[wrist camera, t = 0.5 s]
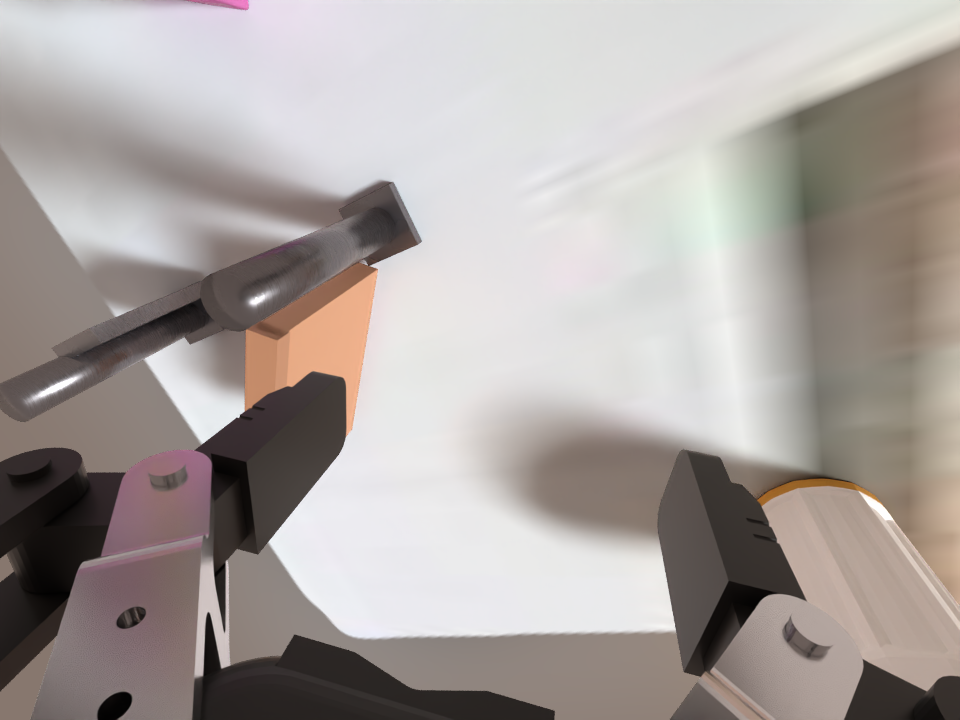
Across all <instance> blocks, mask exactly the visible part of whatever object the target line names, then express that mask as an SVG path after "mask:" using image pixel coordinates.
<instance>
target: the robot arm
mask: <svg viewBox="0 0 960 720" xmlns="http://www.w3.org/2000/svg"><path fill="white" fill-rule="evenodd" d="M346 430H347V424H346V382H345V380H344V378H343V377H339V376H335V375H330V374H325V373H320V372H315V371H312V372H310V373H309V374H307V375H306V376H305V377H304V378H303V379H301V380H300V381H299V382H298V383H296V384H295V385H294V386H293V387H290V386H287V387H284V388H282V389H279V390H277V391H274V392H272V393H269V394H267V395H266V396H264V397H263V398H262V399H260V400H259V401H258V402H257V403H255V404H254V405H253V406H252V408H249V409H247V410H246V411H245V412H244V413H242V414H241V415H240V417H239V418H236V419H235V420H233V421H232V422H231V423H229V424H228V425H227V426H225V427H224V428H223V429H222V430H220V431H219V432H218V433H216V434H215V435H214V436H213V437H211V438H210V439H209V440H207V441H206V442H205V443H203V444H202V445H201V446H200V447H198V448H197V449H196V450H194V451H193V450H173V451H168V452H163V453H159V454H156V455H153V456H150V457H148V458H146V459H144V460H142V461H140V462H138V463H137V464H135V465H134V466H133V467H131V468H130V469H129V470H128V471H127V472H126V473H86V469H85V466H84V463H83V460H82V457H81V455H80V454H79V453H78V452H76V451H74V450H71V449H66V448H45V449H38V450H33V451H29V452H25V453H22V454H19V455H16V456H13V457H11V458H8V459H6V460H4V461H2V462H0V558H1V557H2V556H4V555H5V554H7V556H8V558H9V560H10V563H11V565H12V567H13V570H14V572H13V573H12V574H10V575H9V576H8V577H6V578H5V579H4V580H3V581H1V582H0V691H1V690H2V689H3V688H4V687H5V686H6V685H7V684H8V683H9V682H10V681H11V680H12V679H13V678H14V677H15V676H16V675H17V674H18V673H19V672H20V671H21V670H22V669H23V668H25V667H26V666H27V664H28V663H30V661H31V660H32V659H34V657H36V656H37V655H38V654H39V653H40V651H42V650H43V648H45V646H47V645H48V644H49V643H50V642H51V641H52V640H53V639H54V638H55V637H56V636H57V637H56V640H55V644H54V647H53V650H52V653H51V656H50V659H49V663H48V666H47V669H46V672H45V675H44V678H43V682H42V685H41V688H40V691H39V694H38V697H37V700H36V704H35V707H34V710H33V713H32V716H31V719H30V720H554V715H555V711H553V710H550V709H547V708H543V707H540V706H536V705H533V704H530V703H526V702H523V701H519V700H516V699H512V698H509V697H505V696H502V695H499V694H495V693H492V692H489V691H435V690H427V691H426V690H415V689H412V688H410V687H408V686H406V685H405V684H403V683H401V682H400V681H398V680H397V679H395V678H394V677H392V676H391V675H389V674H388V673H386V672H384V671H383V670H381V669H380V668H378V667H377V666H375V665H374V664H372V663H371V662H369V661H368V660H366V659H364V658H363V657H361V656H360V655H358V654H357V653H355V652H352V651H349V650H345V649H342V648H339V647H335V646H332V645H328V644H325V643H322V642H318V641H315V640H311V639H308V638H305V637H301V636H298V635H294V636H293V638H292V640H291V641H290V643H289V645H288V646H287V648H286V650H285V651H284V653H283V655H282V656H270V657H261V658H255V659H251V660H247V661H242V662H239V663H236V664H233V665H230V655H229V568H228V561H227V560H228V558H229V557H230V556H231V555H232V554H233V553H234V551H235V550H236V549H240V550H243V551H247V552H251V553H254V554H259V553H260V551H261V550H262V549H263V548H264V546H265V545H266V544H267V543H268V541H269V540H270V539H271V538H272V537H273V535H274V534H275V533H276V532H277V530H278V529H279V528H280V527H281V525H282V524H283V523H284V522H285V520H286V519H287V518H288V517H289V516H290V514H291V513H292V512H293V511H294V509H295V508H296V507H297V506H298V504H299V503H300V502H301V501H302V499H303V498H304V497H305V496H306V494H307V493H308V492H309V491H310V490H311V488H312V487H313V486H314V485H315V483H316V482H317V481H318V480H319V478H320V477H321V476H322V475H323V473H324V472H325V471H326V470H327V469H328V467H329V466H330V465H331V464H332V462H333V461H334V460H335V459H336V457H337V456H338V455H339V453H340V452H341V450H342V447H343V445H344V442H345V438H346ZM658 533H659V539H660V544H661V550H662V555H663V561H664V566H665V572H666V577H667V583H668V588H669V594H670V599H671V605H672V611H673V616H674V622H675V627H676V633H677V638H678V643H679V649H680V654H681V660H682V666H683V671H684V672H685V673H689V674H693V675H696V676H700V677H701V678H700V679H699V680H698V682H697V683H696V684H695V686H694V687H693V688H692V690H691V691H690V693H689V694H688V695H687V697H686V698H685V699H684V701H683V702H682V703H681V705H680V706H679V708H678V709H677V710H676V712H675V713H674V714H673V716H672V717H671V719H670V720H960V677H959V676H943V677H941V678H939V679H938V680H937V681H936V682H935V683H934V684H933V685H932V687H931V688H930V689H929V690H928V691H925V690H923V689H921V688H919V687H917V686H915V685H913V684H911V683H909V682H907V681H905V680H903V679H901V678H899V677H897V676H895V675H893V674H891V673H889V672H887V671H885V670H883V669H881V668H879V667H877V666H875V665H873V664H871V663H869V662H867V661H866V660H864V659H862V656H861V653H860V651H859V649H858V647H857V645H856V643H855V642H854V640H853V639H852V637H851V636H850V635H849V634H848V633H847V631H846V630H845V629H844V628H843V627H842V626H841V625H840V624H839V623H838V622H837V621H836V620H834V619H833V618H832V617H831V616H830V615H828V614H827V613H825V612H824V611H823V610H821V609H819V608H818V607H816V606H814V605H813V604H811V603H809V602H807V600H806V598H805V596H804V594H803V592H802V590H801V588H800V585H799V583H798V581H797V579H796V577H795V575H794V573H793V571H792V569H791V567H790V565H789V563H788V561H787V558H786V556H785V554H784V552H783V550H782V548H781V546H780V544H779V543H777V538H776V536H775V534H774V531H773V529H772V527H769V521H768V519H767V517H766V515H765V513H764V511H763V509H762V506H761V504H760V503H759V502H758V501H757V500H756V499H755V498H754V497H753V496H752V495H751V494H750V493H749V492H748V491H747V490H746V489H745V488H744V487H743V486H742V485H740V484H735V483H731V481H730V479H729V477H728V474H727V472H726V470H725V467H724V465H723V462H722V460H721V459H720V458H719V457H717V456H713V455H708V454H703V453H698V452H693V451H689V450H682V451H681V452H680V453H679V455H678V457H677V459H676V462H675V465H674V468H673V470H672V473H671V476H670V478H669V481H668V484H667V487H666V489H665V492H664V495H663V498H662V500H661V503H660V507H659V513H658Z"/></svg>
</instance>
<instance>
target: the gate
mask: <svg viewBox="0 0 960 720" xmlns="http://www.w3.org/2000/svg"><path fill="white" fill-rule="evenodd" d="M377 272H378V269H376V268H373V267H370V266H367V265H364V264H362V263H359V262H358V263H357V264H355V265H353V266H352V267H350V268H348V269H347V270H345V271H344V272H342V273H340V274H339V275H337V276H335V277H334V278H332V279H330V280H329V281H327V282H325V283H324V284H322V285H321V286H319V287H317V288H316V289H314V290H312V291H311V292H309V293H307V294H306V295H304V296H302V297H301V298H299V299H298V300H296V301H294V302H293V303H291V304H289V305H288V306H286V307H284V308H283V309H281V310H279V311H278V312H276V313H275V314H273V315H271V316H270V317H268V318H266V319H265V320H263V321H260V322H258V323H256V324H255V325H253V326H251V327H250V328H248V329H246V351H245V411H246V410H247V409H249V408H252V406H253V405H254V404H255V403H257V402H258V401H259V400H260V399H262V398H263V397H264V396H266V395H267V394H269V393H272V392H274V391H277V390H279V389H282V388H284V387H287V386H290V387H293V386H294V385H295V384H296V383H298V382H299V381H300V380H301V379H303V378H304V377H305V376H306V375H307V374H309V373H310V372H312V371H315V372H320V373H325V374H330V375H335V376H339V377H343V378H344V380H345V382H346V424H347V430H346V436H347V435H348V433H349V432H350V431H351V430H352V426H353V420H354V414H355V408H356V402H357V395H358V389H359V383H360V377H361V371H362V365H363V358H364V352H365V346H366V340H367V334H368V327H369V321H370V315H371V309H372V303H373V297H374V290H375V284H376V278H377Z"/></svg>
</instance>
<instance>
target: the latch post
mask: <svg viewBox="0 0 960 720" xmlns="http://www.w3.org/2000/svg"><path fill="white" fill-rule="evenodd" d="M202 282H203V281H201V282H197V283H195V284H192V285H190V286H188V287H186V288H184V289H182V290H180V291H177V292H175V293H172V294H170V295H168V296H165V297H163V298H160V299H158V300H156V301H153V302H151V303H149V304H146V305H144V306H141V307H139V308H137V309H134V310H132V311H129V312H127V313H125V314H122V315H120V316H117V317H115V318H113V319H110V320H108V321H106V322H103V323H101V324H98V325H96V326H94V327H91V328H89V329H87V330H85V331H83V332H82V333H79V334H78V335H75V336H74V337H72V338H70V339H68V340H66V341H64V342H62V343H60V344H58V345H56V346H54V347H53V348H52V349H53V351H54V352H55V353H56V354H57V355H58V356H59V357H58V358H56V359H54V360H52V361H49V362H47V363H45V364H43V365H41V366H38V367H36V368H34V369H32V370H29V371H27V372H25V373H23V374H20V375H18V376H16V377H14V378H11V379H9V380H7V381H5V382H3V383H0V409H1V410H2V411H3V412H4V413H5V414H7V415H8V416H9V417H11V418H13V419H15V420H17V421H20V422H26V421H29V420H30V419H32V418H34V417H36V416H38V415H40V414H42V413H44V412H45V411H47V410H49V409H51V408H53V407H55V406H57V405H58V404H60V403H62V402H64V401H66V400H68V399H70V398H72V397H74V396H75V395H77V394H79V393H81V392H83V391H85V390H87V389H88V388H90V387H92V386H94V385H96V384H98V383H100V382H102V381H104V380H105V379H107V378H109V377H111V376H113V375H115V374H117V373H118V372H120V371H122V370H124V369H126V368H128V367H130V366H132V365H133V364H135V363H137V362H139V361H141V360H143V359H145V358H147V357H148V356H150V355H152V354H154V353H156V352H158V351H160V350H162V349H163V348H165V347H167V346H169V345H171V344H173V343H175V342H177V341H178V340H180V339H182V338H184V337H185V338H186V340H187V341H188V342H189V344H192V343H195V342H197V341H199V340H202V339H204V338H206V337H208V336H211V335H213V334H215V333H217V332H220V331H222V330H224V329H226V328H224V327H222V326H221V325H219V324H218V323H216V322H215V321H214V320H213V319H212V318H211V317H210V315H209V314H208V313H207V311H206V310H205V308H204V306H203V303H202V300H201V295H200V289H201V284H202Z"/></svg>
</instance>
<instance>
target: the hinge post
mask: <svg viewBox="0 0 960 720" xmlns="http://www.w3.org/2000/svg"><path fill="white" fill-rule="evenodd" d="M339 211H340V213H341V215H342V217H343V219H344V220H342V221H340V222H337V223H335V224H332V225H330V226H327V227H325V228H323V229H320V230H318V231H315V232H313V233H310V234H308V235H305V236H303V237H301V238H298V239H296V240H293V241H291V242H288V243H286V244H284V245H281V246H279V247H276V248H274V249H271V250H269V251H266V252H264V253H262V254H259V255H257V256H254V257H252V258H249V259H247V260H244V261H242V262H240V263H237V264H235V265H232V266H230V267H227V268H225V269H222V270H220V271H218V272H215V273H213V274H210V275H208V276H207V277H206V278H205V279H204V280H203V282H202V284H201V289H200V295H201V300H202V303H203V306H204V308H205V310H206V311H207V313H208V314H209V315H210V317H211V318H212V319H213V320H214V321H215V322H216V323H218V324H219V325H221V326H222V327H224V328H226V329H229V330H232V331H243V330H246V329H248V328H250V327H251V326H253V325H255V324H256V323H258V322H260V321H261V320H263V319H265V318H266V317H268V316H270V315H271V314H273V313H275V312H276V311H278V310H279V309H281V308H283V307H284V306H286V305H288V304H289V303H291V302H293V301H294V300H296V299H298V298H299V297H301V296H303V295H304V294H306V293H308V292H309V291H311V290H312V289H314V288H316V287H317V286H319V285H321V284H322V283H324V282H326V281H327V280H329V279H331V278H332V277H334V276H336V275H337V274H339V273H341V272H342V271H344V270H346V269H347V268H349V267H350V266H352V265H354V264H355V263H357V262H359V261H360V260H362V259H364V258H365V260H366V262H367V264H368V266H370V265H372V264H375V263H377V262H379V261H381V260H384V259H386V258H388V257H390V256H393V255H395V254H397V253H400V252H402V251H404V250H406V249H409V248H411V247H413V246H416V245H418V244H419V243H421V242H422V241H421V239H420V237H419V234H418V232H417V230H416V228H415V226H414V224H413V222H412V220H411V218H410V216H409V214H408V212H407V209H406V207H405V205H404V203H403V201H402V199H401V197H400V195H399V193H398V191H397V189H396V187H395V184H394V183H391V184H388V185H386V186H384V187H382V188H380V189H378V190H376V191H374V192H373V193H371V194H369V195H367V196H365V197H363V198H361V199H359V200H357V201H355V202H353V203H351V204H349V205H347V206H345V207H343V208H341V209H339Z"/></svg>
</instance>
